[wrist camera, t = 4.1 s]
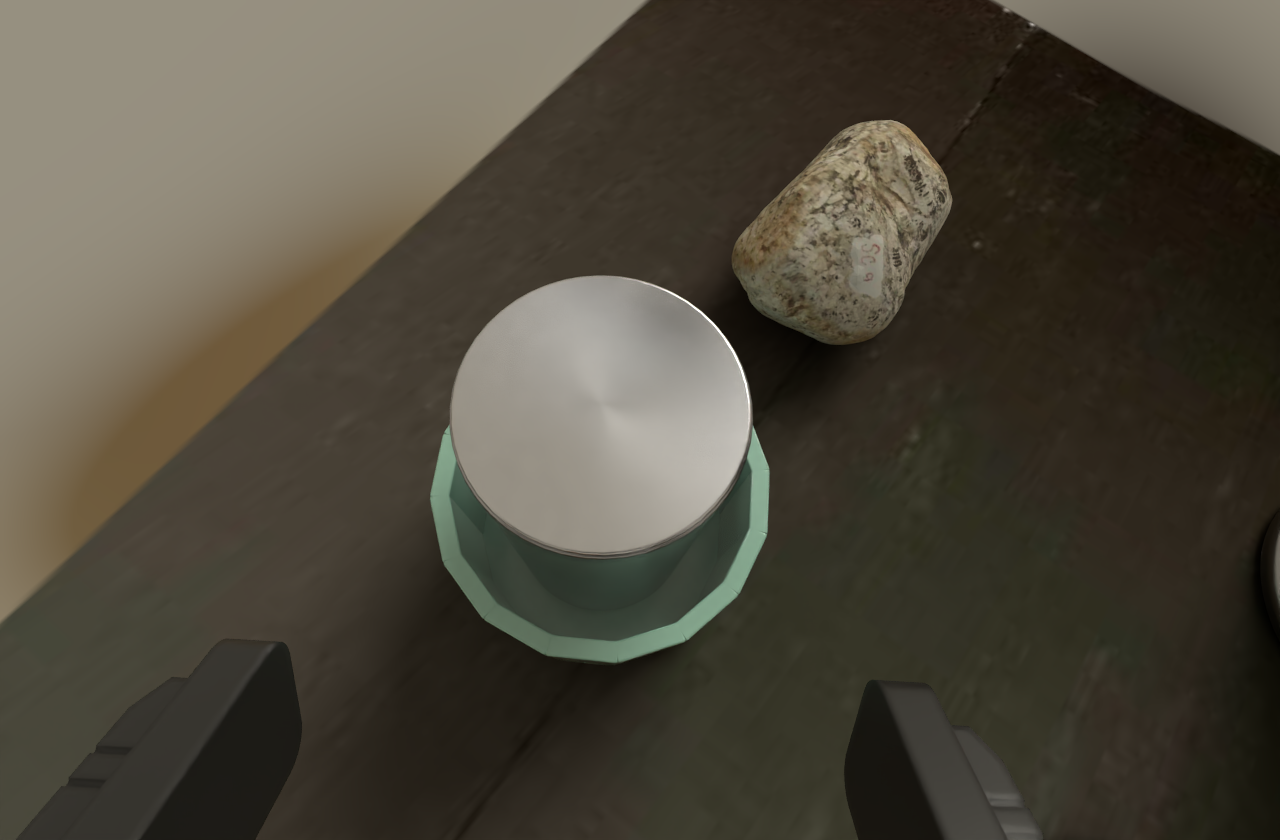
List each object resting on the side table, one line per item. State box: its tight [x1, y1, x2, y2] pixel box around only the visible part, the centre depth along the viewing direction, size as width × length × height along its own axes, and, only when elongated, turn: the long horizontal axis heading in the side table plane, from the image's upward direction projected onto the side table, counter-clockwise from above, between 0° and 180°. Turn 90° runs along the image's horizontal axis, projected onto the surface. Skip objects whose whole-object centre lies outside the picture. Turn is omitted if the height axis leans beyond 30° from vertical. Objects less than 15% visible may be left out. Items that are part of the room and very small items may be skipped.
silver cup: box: [449, 275, 753, 611], centre depth 18 cm, size 6×6×11 cm
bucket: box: [430, 426, 770, 666], centre depth 21 cm, size 9×9×6 cm
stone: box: [732, 120, 952, 345], centre depth 25 cm, size 6×9×5 cm
